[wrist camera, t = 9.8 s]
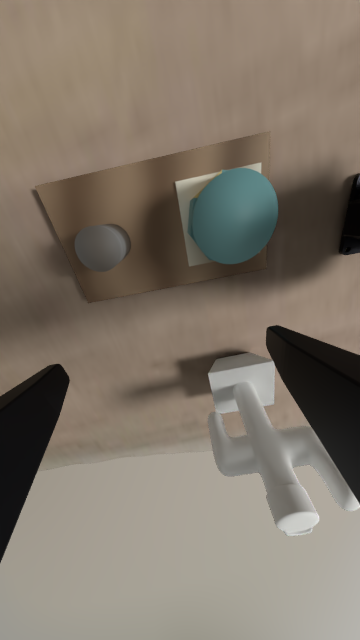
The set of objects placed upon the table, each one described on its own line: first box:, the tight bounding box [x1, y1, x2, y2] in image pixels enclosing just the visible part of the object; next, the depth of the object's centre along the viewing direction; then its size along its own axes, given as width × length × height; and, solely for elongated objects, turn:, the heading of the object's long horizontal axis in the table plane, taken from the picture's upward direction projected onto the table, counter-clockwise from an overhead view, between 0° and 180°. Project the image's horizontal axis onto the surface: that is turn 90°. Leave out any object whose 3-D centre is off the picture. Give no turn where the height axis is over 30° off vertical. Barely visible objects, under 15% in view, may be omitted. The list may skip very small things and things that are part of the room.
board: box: [35, 131, 270, 303], centre depth 15 cm, size 18×10×5 cm, turn 101°
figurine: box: [208, 352, 360, 536], centre depth 19 cm, size 7×9×15 cm
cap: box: [187, 168, 278, 264], centre depth 14 cm, size 6×6×4 cm
